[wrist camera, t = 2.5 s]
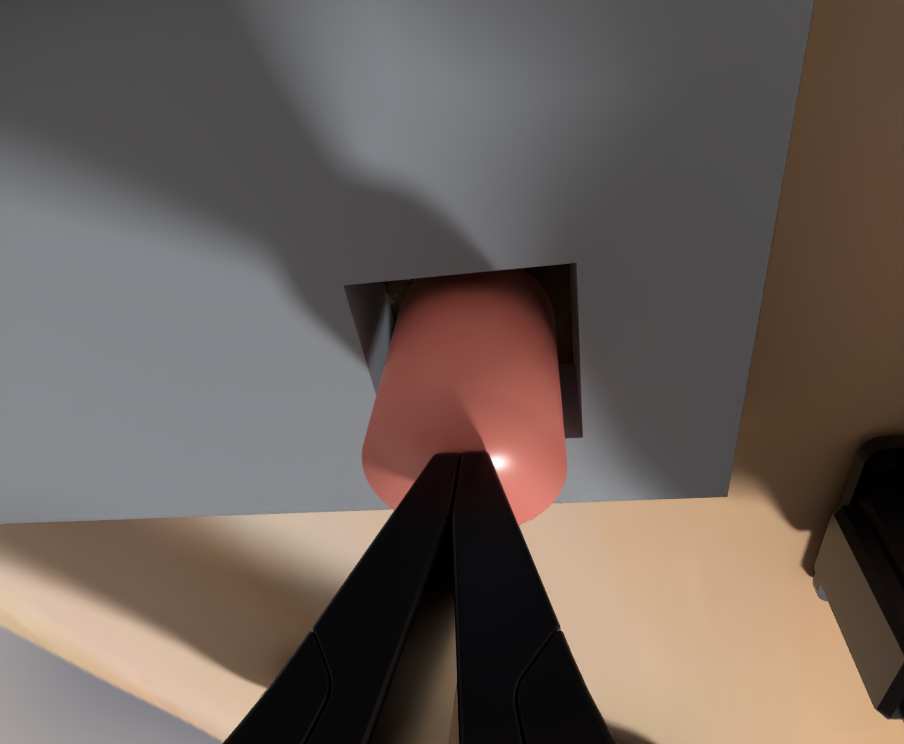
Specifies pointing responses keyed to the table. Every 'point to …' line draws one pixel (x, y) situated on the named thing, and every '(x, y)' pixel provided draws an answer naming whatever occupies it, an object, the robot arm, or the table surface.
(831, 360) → the table surface
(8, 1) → the panel
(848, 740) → the table surface
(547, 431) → the button
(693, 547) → the table surface
